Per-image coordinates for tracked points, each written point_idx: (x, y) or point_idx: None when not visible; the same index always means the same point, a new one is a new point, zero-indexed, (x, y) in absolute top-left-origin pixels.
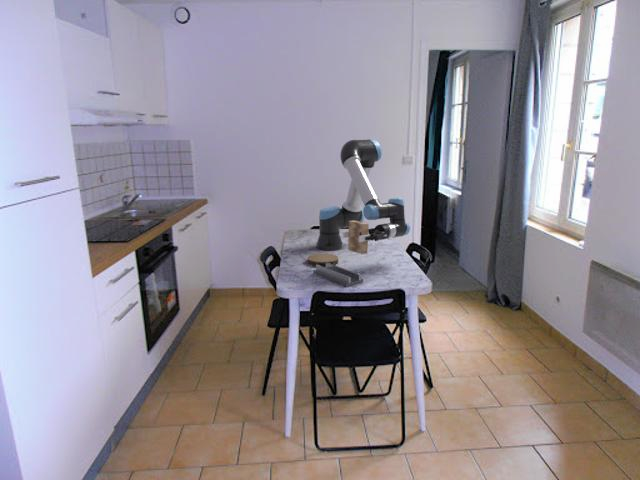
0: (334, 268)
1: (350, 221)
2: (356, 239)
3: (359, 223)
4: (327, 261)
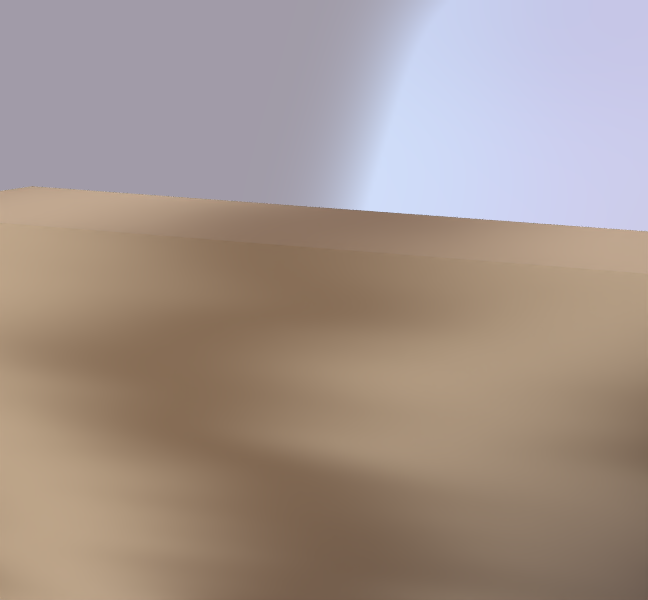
0: None
1: (613, 234)
2: None
3: (209, 203)
4: None
